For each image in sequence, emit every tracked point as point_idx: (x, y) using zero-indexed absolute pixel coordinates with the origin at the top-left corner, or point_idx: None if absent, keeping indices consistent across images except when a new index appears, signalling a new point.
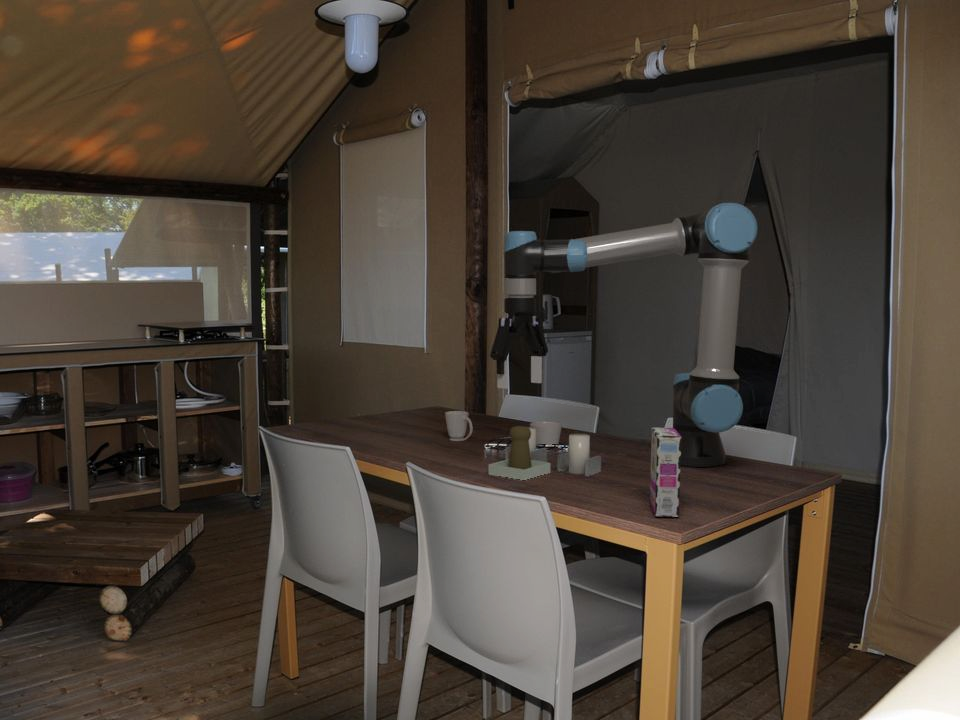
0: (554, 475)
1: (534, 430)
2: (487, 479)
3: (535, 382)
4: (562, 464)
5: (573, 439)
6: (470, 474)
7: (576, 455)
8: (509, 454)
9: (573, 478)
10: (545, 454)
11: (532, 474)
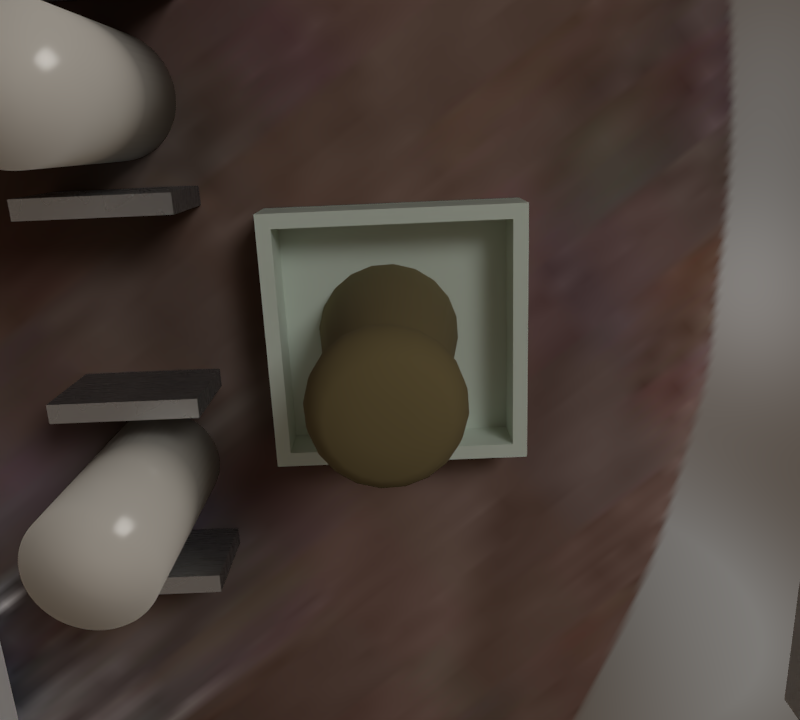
0: (293, 153)
1: (77, 501)
2: (607, 370)
3: (4, 666)
4: (160, 189)
5: (97, 81)
6: (569, 502)
7: (133, 64)
8: (213, 552)
9: (277, 14)
10: (78, 391)
11: (443, 202)
